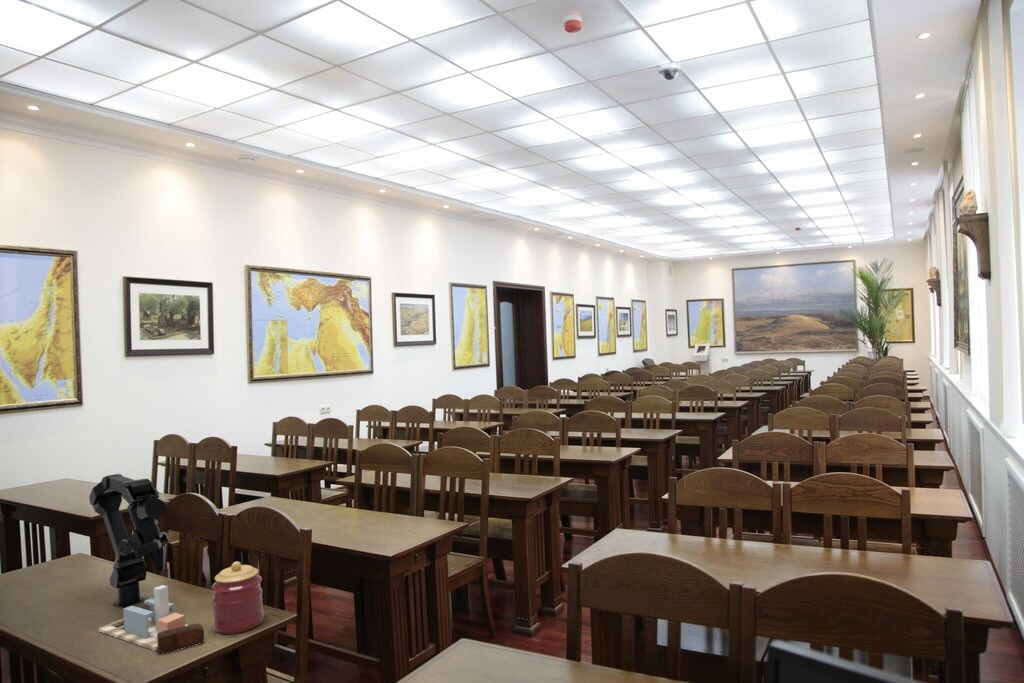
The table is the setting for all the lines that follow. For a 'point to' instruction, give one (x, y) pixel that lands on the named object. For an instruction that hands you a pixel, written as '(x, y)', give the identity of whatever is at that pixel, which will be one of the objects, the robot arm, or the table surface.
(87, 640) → the table surface
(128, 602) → the robot arm
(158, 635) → the brick
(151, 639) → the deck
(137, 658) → the table surface
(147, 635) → the light blue blocks
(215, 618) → the canister
